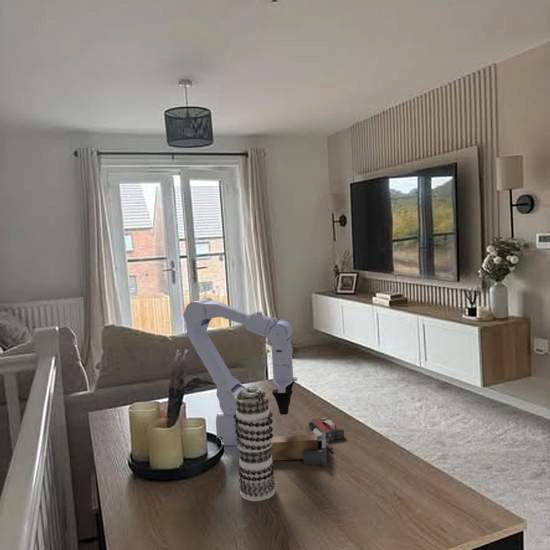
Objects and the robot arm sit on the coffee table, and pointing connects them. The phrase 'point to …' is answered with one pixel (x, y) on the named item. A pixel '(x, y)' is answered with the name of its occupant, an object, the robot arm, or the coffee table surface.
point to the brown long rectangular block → (292, 446)
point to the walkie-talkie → (326, 429)
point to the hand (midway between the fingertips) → (285, 409)
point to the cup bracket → (316, 453)
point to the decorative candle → (254, 444)
